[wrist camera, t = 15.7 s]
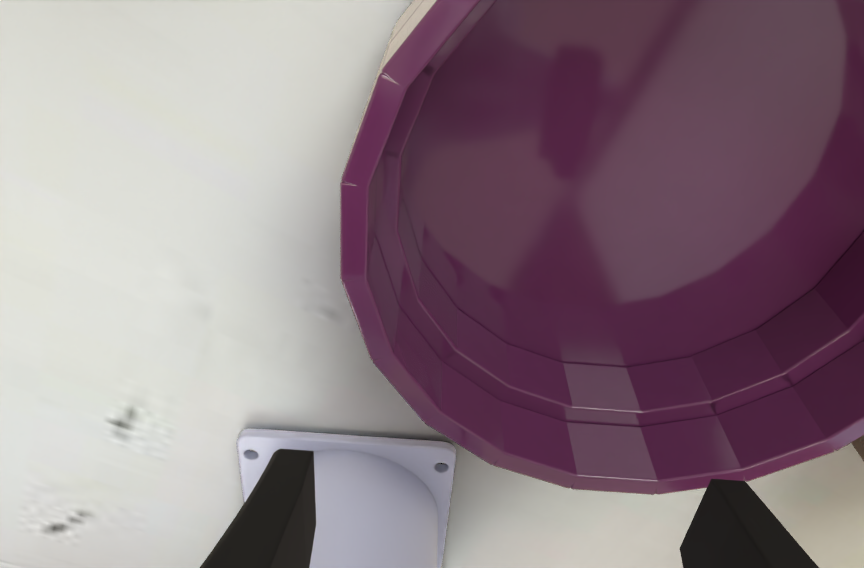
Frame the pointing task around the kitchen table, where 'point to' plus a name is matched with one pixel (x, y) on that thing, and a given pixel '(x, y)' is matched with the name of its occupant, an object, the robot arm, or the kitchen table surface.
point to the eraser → (859, 446)
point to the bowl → (617, 234)
